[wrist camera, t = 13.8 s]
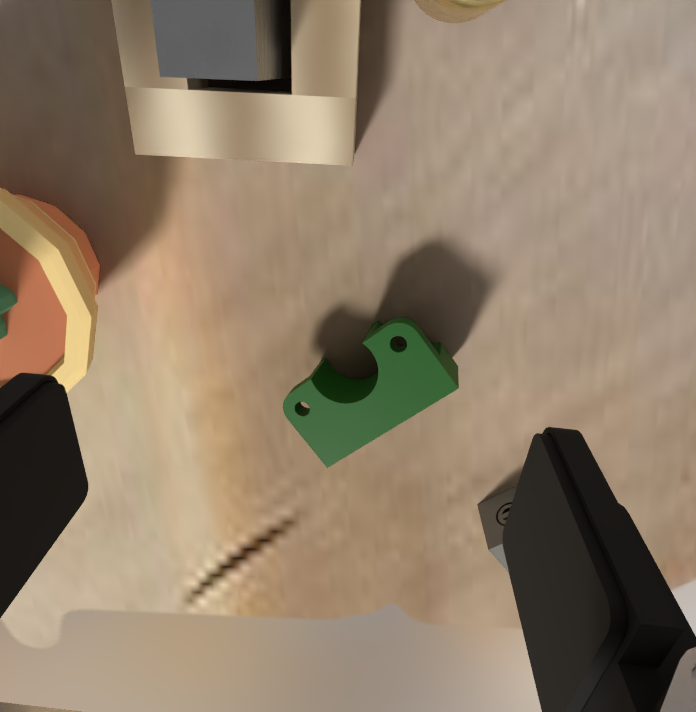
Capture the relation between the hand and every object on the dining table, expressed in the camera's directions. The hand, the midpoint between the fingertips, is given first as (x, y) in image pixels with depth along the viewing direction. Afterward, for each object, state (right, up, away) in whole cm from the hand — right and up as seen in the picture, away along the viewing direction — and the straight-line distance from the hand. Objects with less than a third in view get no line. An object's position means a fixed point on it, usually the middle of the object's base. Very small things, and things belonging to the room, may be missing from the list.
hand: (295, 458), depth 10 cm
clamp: (+3, +2, +29) cm, 29 cm away
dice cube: (+16, -12, +36) cm, 41 cm away
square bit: (-4, +20, +18) cm, 27 cm away
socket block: (-4, +20, +18) cm, 27 cm away
